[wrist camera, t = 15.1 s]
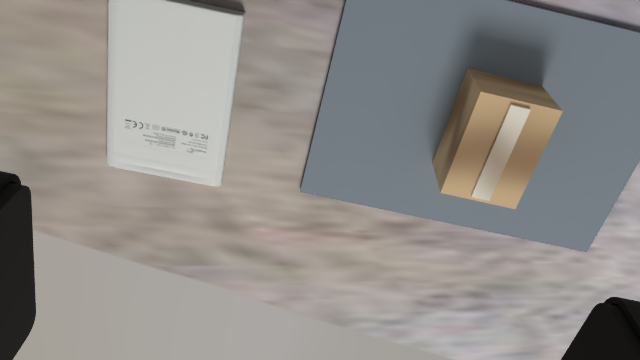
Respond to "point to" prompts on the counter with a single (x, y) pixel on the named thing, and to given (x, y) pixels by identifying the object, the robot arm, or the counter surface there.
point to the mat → (440, 95)
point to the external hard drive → (171, 87)
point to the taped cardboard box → (494, 138)
